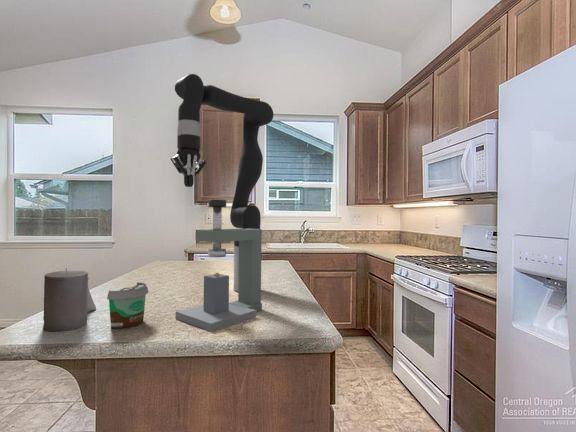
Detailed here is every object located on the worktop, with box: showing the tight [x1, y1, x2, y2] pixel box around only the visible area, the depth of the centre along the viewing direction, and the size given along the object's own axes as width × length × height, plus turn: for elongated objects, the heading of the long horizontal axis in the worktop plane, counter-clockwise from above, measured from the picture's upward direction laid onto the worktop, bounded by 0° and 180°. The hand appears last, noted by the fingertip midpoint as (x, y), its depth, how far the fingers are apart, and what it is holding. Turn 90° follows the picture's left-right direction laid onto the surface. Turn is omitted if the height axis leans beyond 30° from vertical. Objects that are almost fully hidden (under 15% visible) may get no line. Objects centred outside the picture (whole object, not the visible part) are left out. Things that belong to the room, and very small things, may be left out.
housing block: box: [203, 272, 230, 314], centre depth 96 cm, size 5×5×11 cm
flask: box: [87, 276, 97, 313], centre depth 102 cm, size 7×7×10 cm
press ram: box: [207, 199, 227, 258], centre depth 96 cm, size 5×5×16 cm
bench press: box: [175, 228, 263, 332], centre depth 99 cm, size 23×16×25 cm
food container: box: [106, 281, 149, 330], centre depth 90 cm, size 12×6×10 cm, turn 168°
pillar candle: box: [42, 268, 89, 332], centre depth 88 cm, size 10×10×15 cm
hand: (188, 186), depth 115 cm, fingers closed
